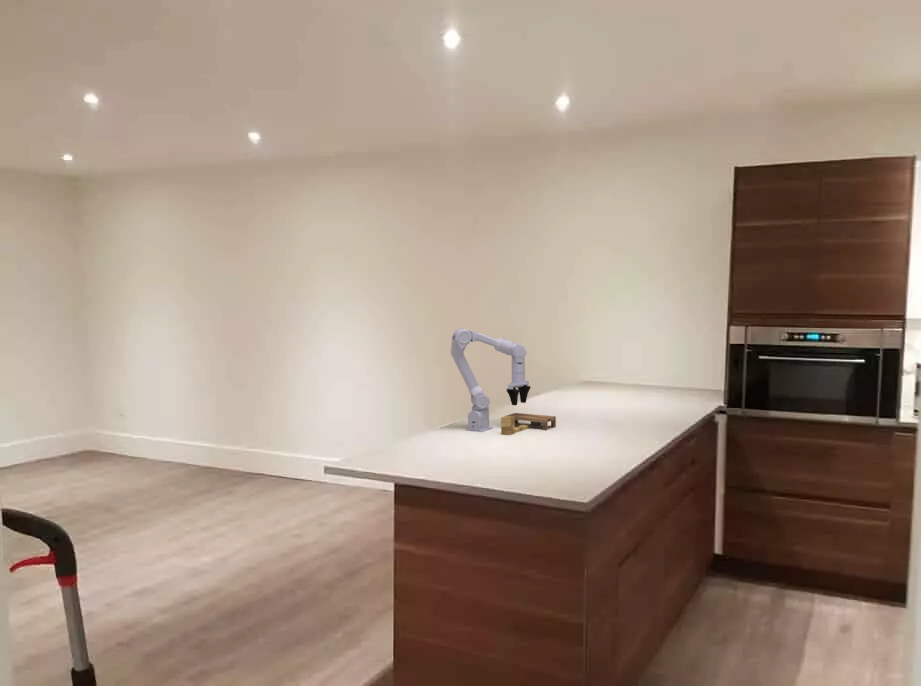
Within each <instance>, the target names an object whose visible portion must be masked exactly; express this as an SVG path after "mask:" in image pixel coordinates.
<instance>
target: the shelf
mask: <svg viewBox="0 0 921 686" xmlns="http://www.w3.org/2000/svg"><path fill="white" fill-rule="evenodd" d="M505 416H511V417H514V424H515V425H516V424H517V425H518V424H519V421H523V422H524V421H525V422H531V421H532V422H543V425H542V430H543V431H548V428H549V427H548V424H549V423H550V427H551V428H556V427H557V425H556V424H557V421H556V420H557V417H556V416H555V415H545V414H544V415H543V414H532V413H521V412H513V413H510V414H507V415H505Z"/></svg>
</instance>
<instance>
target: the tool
mask: <svg viewBox="0 0 921 686" xmlns="http://www.w3.org/2000/svg"><path fill="white" fill-rule="evenodd" d="M515 425H516V424H514V417H511V416H506V415H504V416H502V417H500V433H501V435H505V436H513V435H514V434H516V433H519V432H522V431H525V430H528V429H530V425H528V424H521V425H518V426H515Z"/></svg>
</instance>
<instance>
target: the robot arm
mask: <svg viewBox="0 0 921 686" xmlns="http://www.w3.org/2000/svg"><path fill="white" fill-rule="evenodd" d="M474 342H479V343H484V344H486V345H489V346H492V347H494V349H495V351H496V352H498V353H502V354H503V355H504V354H505V355H507V356H511V383H509V384H508V385H507V388H506V392H507V394H508V396H509V399H510V402H511V406H517V405H518V401H519V399H520V403H523V404H526V403H527V400H528V399H527V398H528V395H529V392H530V390H531V386H530V381H529V380H526V365H525V364H526V362H525V357H526V355H527V351H526V348H525V347H524V346H523V345H521V344H518V343H517V342H515V341H510V340H507V338H506V337H498V338H497V339H495V338H494V337H490V336H488V335H486V334H483V333H480V332H477V331H473V330H469V329H464V328H458V329H456V330H454V332H453V334H452V336H451V345H450V347H451V348H450V354H451V357H452V359H453V361H454V363H455V365H456V367H457V369H458V371H459V373H460V375H461V377H462V378H463V381H464V383H465V385H466V387H467V389H468V392H469V394H470V398H471V399H470V402H471V403H472V407H471V411H470V412H469V413H468V415H467V428H466V431H470V432H481V433H482V432H486V431H488V430H492V429H494V426H490V407H489V406H490V402H491V401H490V398H489V396H488V395H486V394H485V393H484V391H483V389H482V388H481V386H480V384H479V382H478V381H477V378H476V376H475V374H474V372H473V370H472V367H471V366H470V364H469V362H468V360H467V358H466V356H465V355H464V352H465V351H466V350H465V349H466V348H467V346H468V345H469V344H470V343H474ZM518 398H519V399H518Z"/></svg>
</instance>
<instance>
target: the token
mask: <svg viewBox="0 0 921 686" xmlns="http://www.w3.org/2000/svg"><path fill="white" fill-rule="evenodd" d="M530 426H543V422H532V421H530Z"/></svg>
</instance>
